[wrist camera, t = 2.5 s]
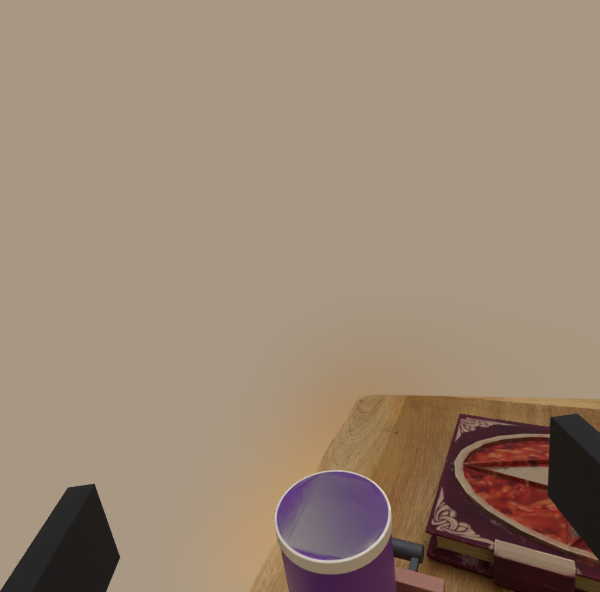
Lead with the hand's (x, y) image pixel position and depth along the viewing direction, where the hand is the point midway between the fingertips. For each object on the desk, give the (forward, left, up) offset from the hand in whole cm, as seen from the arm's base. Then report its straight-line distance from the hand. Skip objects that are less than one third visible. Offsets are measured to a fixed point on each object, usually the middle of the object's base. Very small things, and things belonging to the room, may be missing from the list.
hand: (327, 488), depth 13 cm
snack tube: (+3, +9, -25) cm, 27 cm away
